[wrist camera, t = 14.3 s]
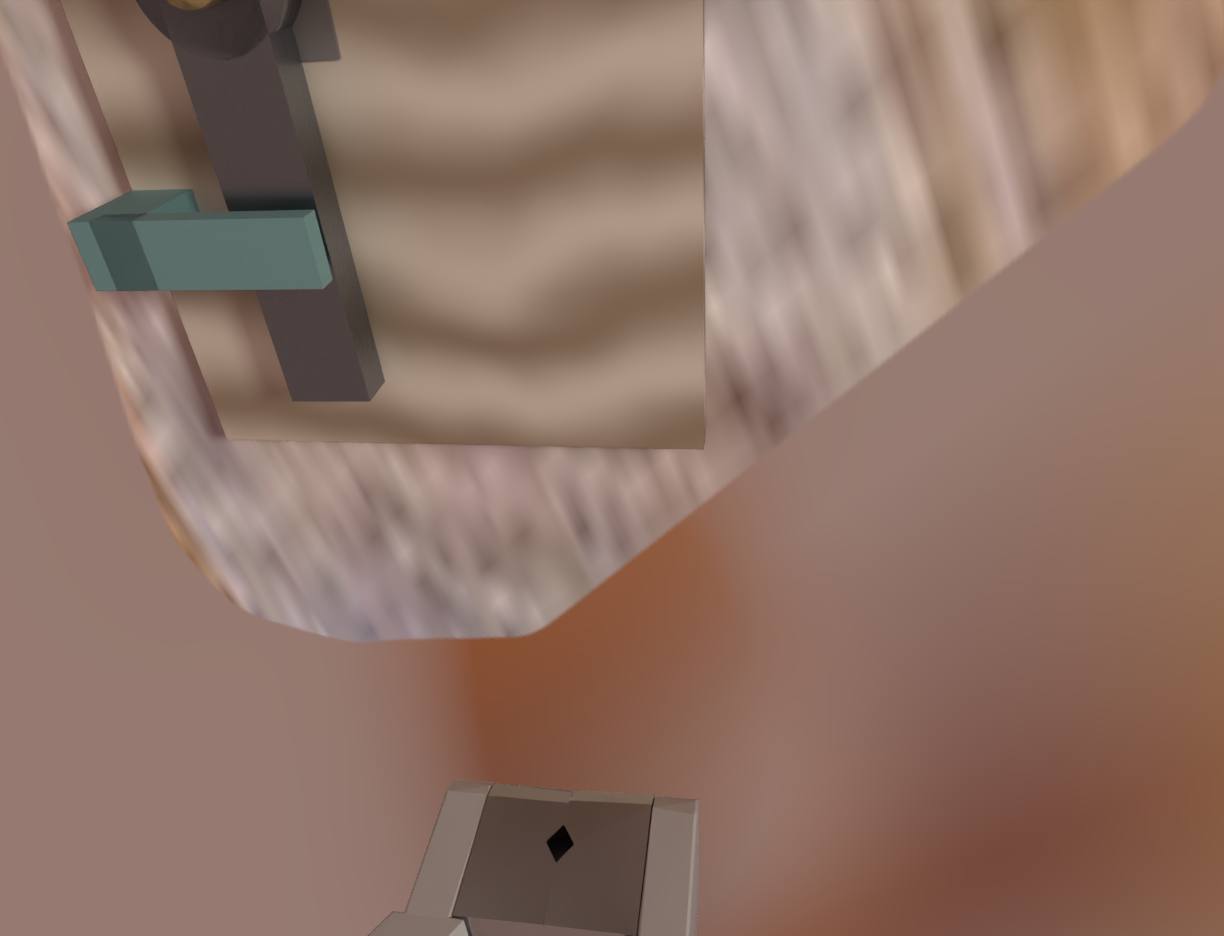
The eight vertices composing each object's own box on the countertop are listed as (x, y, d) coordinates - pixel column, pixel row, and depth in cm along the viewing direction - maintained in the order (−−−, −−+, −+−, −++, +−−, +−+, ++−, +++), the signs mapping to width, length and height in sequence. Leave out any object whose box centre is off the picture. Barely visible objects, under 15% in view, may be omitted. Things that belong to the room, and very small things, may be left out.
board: (-5, -246, 31) (-41, -252, 30) (702, -329, 27) (700, -341, 26) (240, 425, 47) (225, 441, 46) (705, 433, 43) (703, 451, 42)
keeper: (132, 190, 39) (66, 222, 35) (348, 184, 37) (303, 217, 33) (156, 253, 40) (96, 290, 37) (363, 250, 39) (322, 289, 35)
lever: (124, -124, 31) (66, -125, 28) (275, -141, 30) (229, -143, 27) (291, 381, 43) (261, 414, 40) (404, 381, 42) (380, 414, 39)
